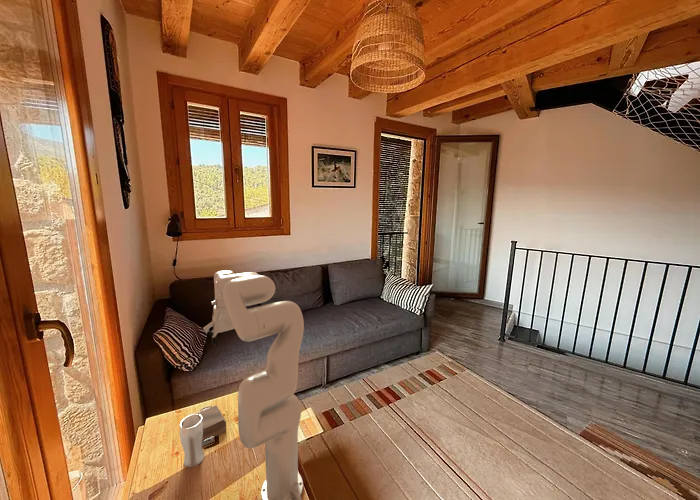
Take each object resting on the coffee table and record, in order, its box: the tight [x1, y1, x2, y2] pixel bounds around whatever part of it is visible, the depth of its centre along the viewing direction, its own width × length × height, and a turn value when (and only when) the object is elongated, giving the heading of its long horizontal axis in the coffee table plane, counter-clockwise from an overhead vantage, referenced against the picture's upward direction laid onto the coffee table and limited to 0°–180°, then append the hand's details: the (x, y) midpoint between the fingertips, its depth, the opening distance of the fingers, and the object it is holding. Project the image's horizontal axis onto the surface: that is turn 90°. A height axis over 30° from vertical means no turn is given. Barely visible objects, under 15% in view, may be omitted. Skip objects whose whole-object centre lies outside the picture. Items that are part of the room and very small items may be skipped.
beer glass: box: [179, 413, 205, 468], centre depth 96 cm, size 7×7×15 cm
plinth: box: [196, 405, 227, 441], centre depth 110 cm, size 11×11×5 cm
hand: (227, 341), depth 116 cm, fingers open, 9 cm apart
